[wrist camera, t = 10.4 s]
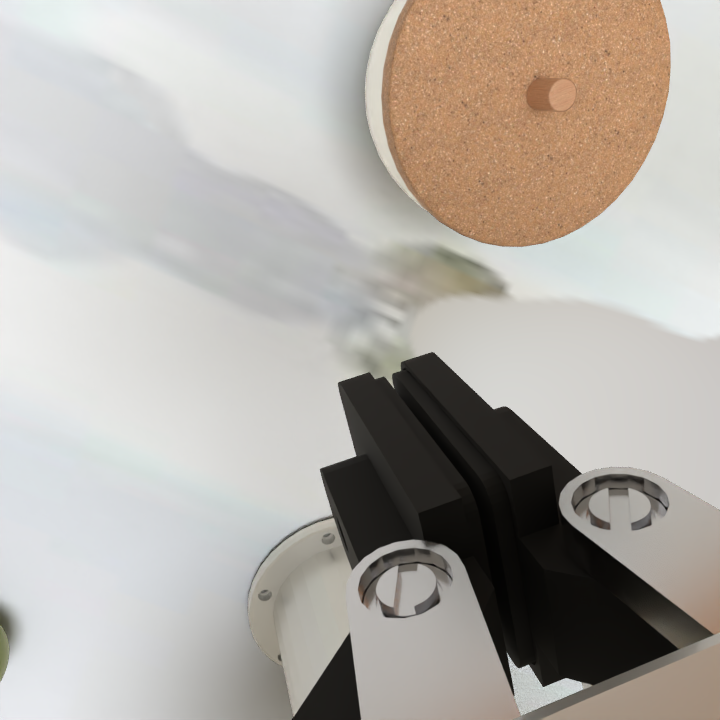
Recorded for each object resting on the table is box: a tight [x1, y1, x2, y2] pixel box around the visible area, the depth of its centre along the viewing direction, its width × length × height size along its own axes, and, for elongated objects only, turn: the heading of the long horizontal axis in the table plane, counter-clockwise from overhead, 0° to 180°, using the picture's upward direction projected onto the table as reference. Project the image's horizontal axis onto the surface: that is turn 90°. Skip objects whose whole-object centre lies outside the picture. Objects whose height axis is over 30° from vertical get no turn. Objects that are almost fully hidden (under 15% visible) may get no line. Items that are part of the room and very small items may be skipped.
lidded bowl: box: [365, 0, 671, 247], centre depth 31 cm, size 13×13×11 cm
